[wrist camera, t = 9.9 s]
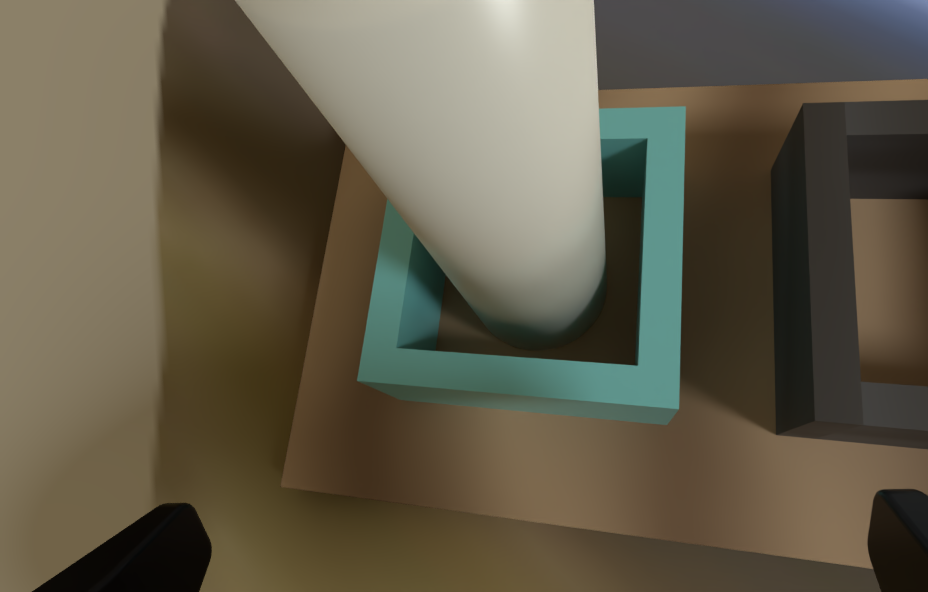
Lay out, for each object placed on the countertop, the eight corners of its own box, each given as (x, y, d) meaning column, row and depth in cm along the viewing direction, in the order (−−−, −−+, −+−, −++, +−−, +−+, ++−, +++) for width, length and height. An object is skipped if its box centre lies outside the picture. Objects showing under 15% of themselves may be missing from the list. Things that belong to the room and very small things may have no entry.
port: (673, 170, 17) (685, 106, 14) (666, 425, 15) (679, 409, 12) (433, 171, 19) (401, 113, 16) (400, 399, 17) (356, 380, 14)
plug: (561, 376, 16) (428, 91, 5) (447, 308, 17) (134, -43, 6) (632, 260, 16) (665, -246, 5) (517, 202, 18) (347, -304, 6)
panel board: (1189, 94, 15) (1372, -33, 12) (1314, 627, 12) (1625, 685, 8) (366, 116, 21) (312, 34, 17) (298, 487, 18) (213, 485, 14)
